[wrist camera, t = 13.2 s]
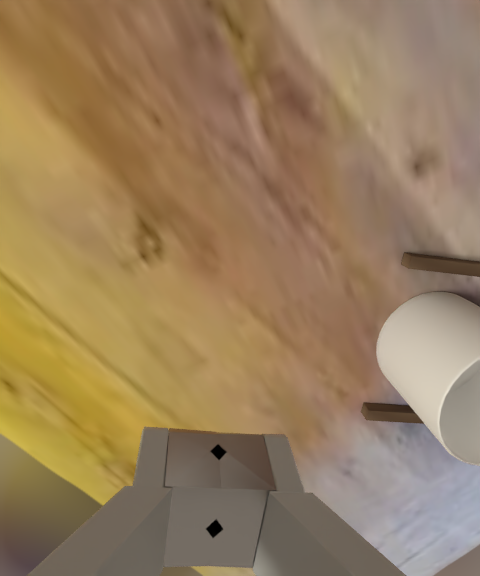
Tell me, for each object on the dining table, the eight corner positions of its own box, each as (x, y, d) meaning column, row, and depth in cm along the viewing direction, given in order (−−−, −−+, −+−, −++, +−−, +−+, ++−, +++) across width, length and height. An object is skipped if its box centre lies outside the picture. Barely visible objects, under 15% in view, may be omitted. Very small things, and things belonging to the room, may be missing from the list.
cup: (439, 268, 42) (529, 312, 31) (500, 337, 46) (601, 400, 34) (353, 347, 44) (408, 416, 33) (418, 408, 48) (488, 490, 36)
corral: (406, 244, 41) (422, 251, 38) (525, 259, 43) (549, 267, 40) (359, 417, 47) (370, 435, 44) (465, 424, 49) (482, 441, 46)
